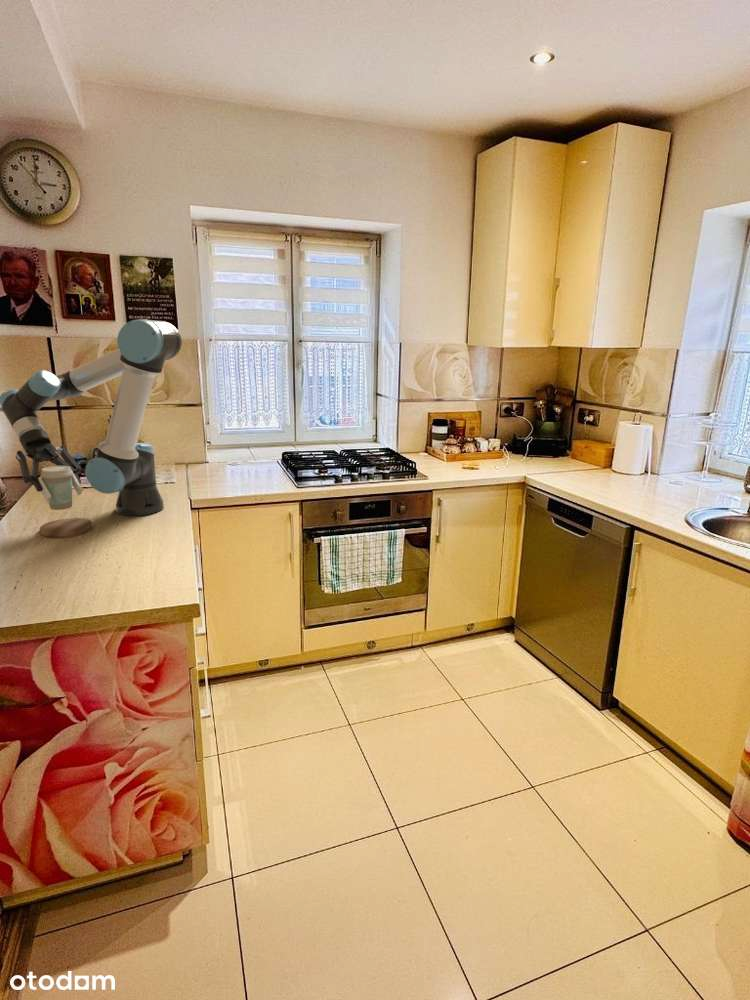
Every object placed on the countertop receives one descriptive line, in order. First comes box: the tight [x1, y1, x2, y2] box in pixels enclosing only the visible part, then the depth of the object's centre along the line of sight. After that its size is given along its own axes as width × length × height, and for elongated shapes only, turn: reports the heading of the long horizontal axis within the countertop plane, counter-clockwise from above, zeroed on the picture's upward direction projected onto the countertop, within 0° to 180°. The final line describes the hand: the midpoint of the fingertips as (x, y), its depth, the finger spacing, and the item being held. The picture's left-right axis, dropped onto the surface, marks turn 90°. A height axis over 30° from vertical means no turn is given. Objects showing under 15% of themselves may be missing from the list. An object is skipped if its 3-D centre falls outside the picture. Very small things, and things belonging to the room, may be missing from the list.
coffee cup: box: [39, 465, 73, 511], centre depth 166 cm, size 8×9×12 cm
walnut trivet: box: [39, 517, 93, 539], centre depth 169 cm, size 14×14×2 cm
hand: (65, 495), depth 165 cm, fingers closed on coffee cup, 8 cm apart
